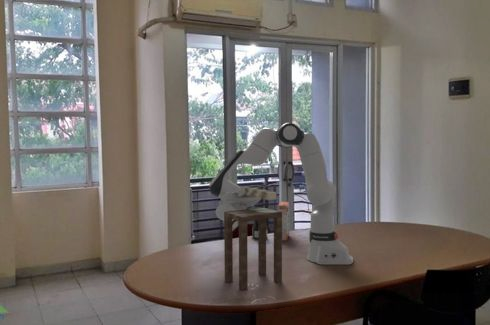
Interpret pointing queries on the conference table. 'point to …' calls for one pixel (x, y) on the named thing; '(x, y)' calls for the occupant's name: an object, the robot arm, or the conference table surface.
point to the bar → (260, 193)
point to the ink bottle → (256, 230)
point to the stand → (243, 217)
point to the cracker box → (284, 219)
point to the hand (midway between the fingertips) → (250, 190)
